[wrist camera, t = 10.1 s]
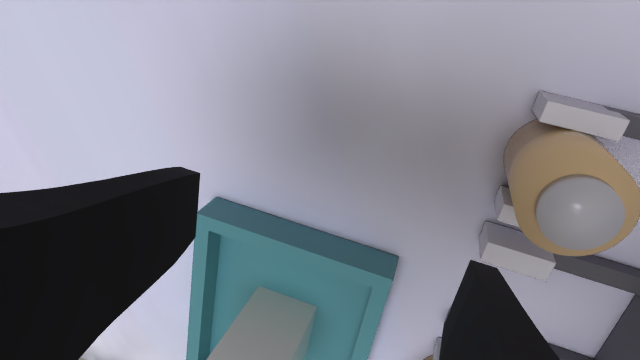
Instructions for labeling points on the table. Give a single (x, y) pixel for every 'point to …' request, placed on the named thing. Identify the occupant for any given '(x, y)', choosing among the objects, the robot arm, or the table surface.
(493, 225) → the holder block
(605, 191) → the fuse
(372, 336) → the tray
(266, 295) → the block
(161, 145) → the table surface
